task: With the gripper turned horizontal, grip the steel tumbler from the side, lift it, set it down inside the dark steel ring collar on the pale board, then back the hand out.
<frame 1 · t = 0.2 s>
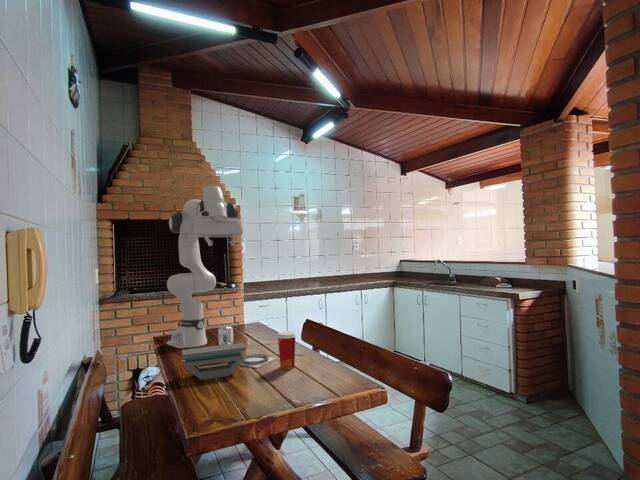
hand: (221, 245, 161), 54 cm above the table, tool tilted 30°, fingers open, 8 cm apart
coffee cup: (287, 367, 166), on the table
pale board: (255, 361, 175), on the table
steel tumbler: (226, 359, 180), on the table
steel ring collar: (255, 359, 175), on the pale board, point 1 cm above the table
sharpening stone: (214, 375, 159), on the table
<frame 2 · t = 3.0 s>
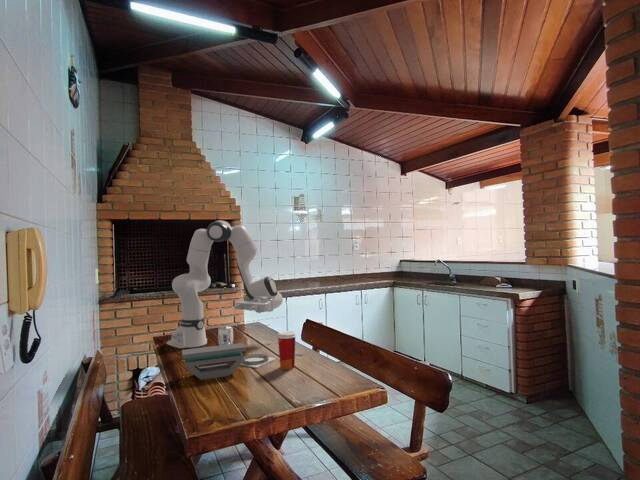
hand: (242, 308, 190), 22 cm above the table, tool horizontal, fingers open, 8 cm apart
nothing on the table moved.
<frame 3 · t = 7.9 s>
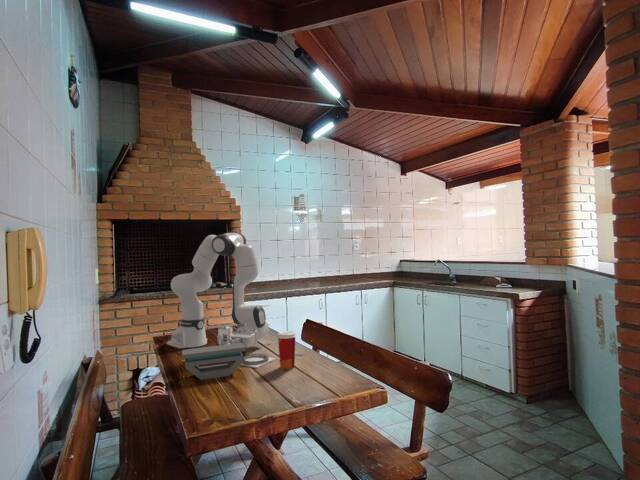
hand: (224, 341, 179), 9 cm above the table, tool horizontal, fingers closed on steel tumbler, 6 cm apart
steel tumbler: (226, 359, 180), on the table, touching gripper
everything else where it was.
when the fingers open (10 cm above the table, at t = 13.5 s): steel tumbler moves 2 cm, resting on pale board.
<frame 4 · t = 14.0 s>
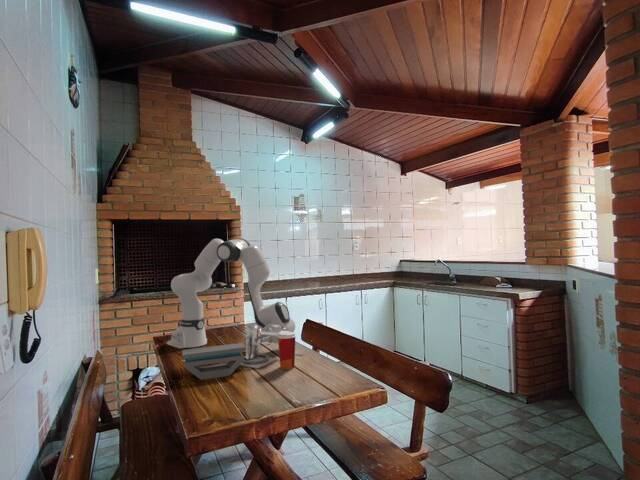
hand: (253, 339, 174), 10 cm above the table, tool horizontal, fingers open, 8 cm apart
steel tumbler: (251, 359, 176), point 1 cm above the table, touching gripper, pale board
everything else where it was.
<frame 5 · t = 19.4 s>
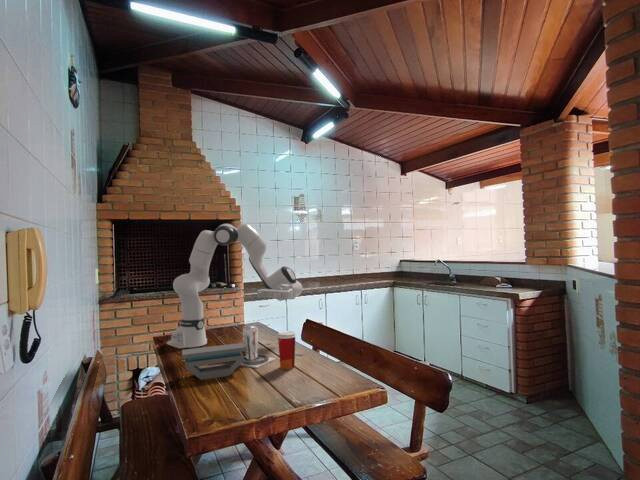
hand: (265, 295, 192), 28 cm above the table, tool horizontal, fingers open, 8 cm apart
steel tumbler: (251, 360, 176), resting on pale board
everything else where it was.
at the end: steel tumbler 2.0 cm off-centre on the steel ring collar, point 0.5 cm above the steel ring collar's base; steel tumbler tilted 2°; the gripper is holding nothing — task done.
